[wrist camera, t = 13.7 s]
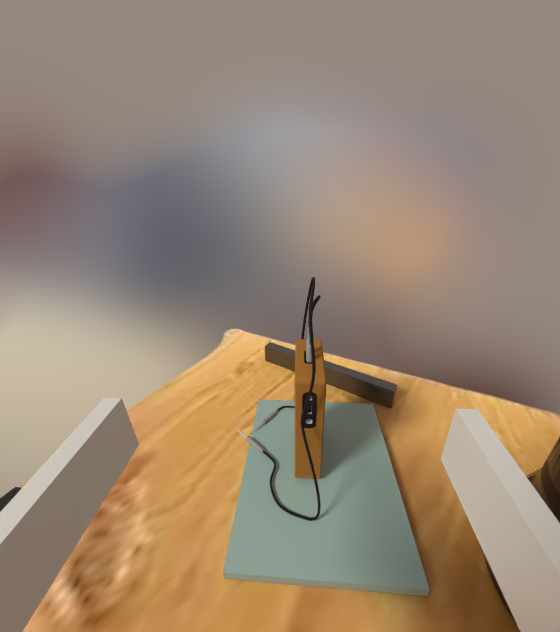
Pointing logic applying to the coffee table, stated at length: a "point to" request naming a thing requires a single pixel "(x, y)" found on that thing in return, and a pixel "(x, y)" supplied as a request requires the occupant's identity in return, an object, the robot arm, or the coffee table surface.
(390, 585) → the plate
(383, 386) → the guide rail
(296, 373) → the corded orange upright block
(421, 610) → the coffee table surface
